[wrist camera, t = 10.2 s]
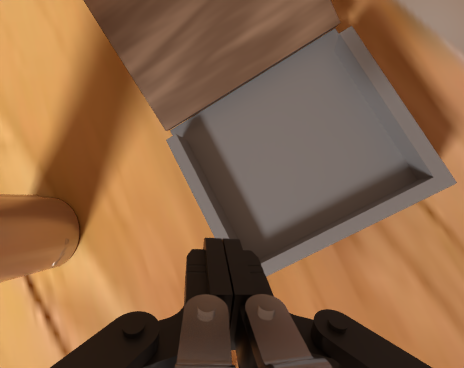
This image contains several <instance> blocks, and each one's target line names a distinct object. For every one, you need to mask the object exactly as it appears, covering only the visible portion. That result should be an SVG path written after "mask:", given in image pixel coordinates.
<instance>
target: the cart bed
mask: <svg viewBox="0 0 464 368" xmlns="http://www.w3.org/2000/svg"><path fill="white" fill-rule="evenodd" d="M170 131H171V133H172V135H173V136H172V137H170V138H168V139H167V140H166V141H167V143H168V145H169V147H170V149H171V151H172V153H173V155H174V157H175V159H176V161H177V163H178V165H179V167H180V169H181V171H182V173H183V175H184V177H185V179H186V181H187V183H188V185H189V187H190V189H191V191H192V193H193V195H194V197H195V199H196V201H197V203H198V205H199V207H200V209H201V211H202V213H203V215H204V217H205V219H206V221H207V223H208V225H209V227H210V229H211V231H212V233H213V235H214V237H215V238H231V239H240V242H241V245H242V248H243V250H251V251H252V252H253V253H254V254H255V255H256V256H257V257H258V258H259V260H260V263H261V265H262V266H261V267H262V268H263V270H264V274H265V276H268V275H270V274H272V273H274V272H276V271H278V270H280V269H282V268H285V267H287V266H289V265H291V264H293V263H295V262H297V261H299V260H301V259H303V258H305V257H307V256H309V255H311V254H313V253H315V252H317V251H319V250H321V249H323V248H325V247H327V246H329V245H331V244H334V243H336V242H338V241H340V240H342V239H344V238H346V237H348V236H350V235H352V234H354V233H356V232H358V231H360V230H362V229H364V228H366V227H368V226H370V225H372V224H374V223H376V222H378V221H380V220H383V219H385V218H387V217H389V216H391V215H393V214H395V213H397V212H399V211H401V210H403V209H405V208H407V207H409V206H411V205H413V204H415V203H417V202H419V201H421V200H423V199H425V198H427V197H430V196H432V195H434V194H436V193H438V192H440V191H442V190H444V189H446V188H448V187H450V186H452V185H454V184H456V183H457V182H456V181H455V179H454V178H453V176H452V175H451V173H450V172H449V170H448V169H447V167H446V166H445V164H444V163H443V161H442V160H441V158H440V157H439V155H438V154H437V152H436V151H435V149H434V148H433V146H432V145H431V143H430V142H429V140H428V139H427V137H426V136H425V134H424V133H423V131H422V130H421V128H420V127H419V125H418V124H417V122H416V121H415V119H414V118H413V116H412V115H411V113H410V112H409V110H408V109H407V107H406V106H405V104H404V103H403V101H402V100H401V99H400V97H399V96H398V94H397V93H396V91H395V90H394V88H393V87H392V85H391V84H390V82H389V81H388V79H387V78H386V76H385V75H384V73H383V72H382V70H381V69H380V67H379V66H378V64H377V63H376V61H375V60H374V58H373V57H372V55H371V54H370V52H369V51H368V49H367V48H366V46H365V45H364V43H363V42H362V40H361V39H360V37H359V36H358V34H357V33H356V31H355V30H354V28H353V27H352V26H350V27H349V28H347V29H346V30H344V31H342V32H341V33H338V32H337V30H336V29H333V30H331V31H330V32H328V33H327V34H325V35H323V36H322V37H320V38H319V39H317V40H315V41H314V42H312V43H311V44H309V45H307V46H306V47H304V48H302V49H301V50H299V51H298V52H296V53H294V54H293V55H291V56H290V57H288V58H286V59H285V60H283V61H282V62H280V63H278V64H277V65H275V66H273V67H272V68H270V69H269V70H267V71H265V72H264V73H262V74H261V75H259V76H257V77H256V78H254V79H252V80H251V81H249V82H248V83H246V84H244V85H243V86H241V87H240V88H238V89H236V90H235V91H233V92H232V93H230V94H228V95H227V96H225V97H223V98H222V99H220V100H219V101H217V102H215V103H214V104H212V105H211V106H209V107H207V108H206V109H204V110H202V111H201V112H199V113H198V114H196V115H194V116H193V117H191V118H190V119H188V120H186V121H185V122H183V123H182V124H180V125H178V126H177V127H175V128H173V129H172V130H170Z"/></svg>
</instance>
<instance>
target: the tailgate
mask: <svg viewBox="0 0 464 368" xmlns="http://www.w3.org/2000/svg"><path fill="white" fill-rule="evenodd" d="M84 2H85V4H86V5H87V7H88V8H89V10H90V11H91V13H92V15H93V16H94V18H95V19H96V21H97V23H98V24H99V26H100V27H101V29H102V30H103V32H104V34H105V35H106V37H107V38H108V40H109V42H110V43H111V45H112V46H113V48H114V49H115V51H116V53H117V54H118V56H119V57H120V59H121V61H122V62H123V64H124V65H125V67H126V68H127V70H128V72H129V73H130V75H131V76H132V78H133V80H134V81H135V83H136V84H137V86H138V87H139V89H140V91H141V92H142V94H143V95H144V97H145V99H146V100H147V102H148V103H149V105H150V106H151V108H152V110H153V111H154V113H155V114H156V116H157V118H158V119H159V121H160V122H161V124H162V125H163V127H164V129H165V130H166V131H168V130H170V129H172V128H174V127H175V126H177V125H178V124H180V123H182V122H183V121H185V120H187V119H188V118H190V117H191V116H193V115H195V114H196V113H198V112H199V111H201V110H203V109H204V108H206V107H207V106H209V105H211V104H212V103H214V102H216V101H217V100H219V99H220V98H222V97H224V96H225V95H227V94H228V93H230V92H232V91H233V90H235V89H236V88H238V87H240V86H241V85H243V84H245V83H246V82H248V81H249V80H251V79H253V78H254V77H256V76H257V75H259V74H261V73H262V72H264V71H265V70H267V69H269V68H270V67H272V66H274V65H275V64H277V63H278V62H280V61H282V60H283V59H285V58H286V57H288V56H290V55H291V54H293V53H294V52H296V51H298V50H299V49H301V48H303V47H304V46H306V45H307V44H309V43H311V42H312V41H314V40H315V39H317V38H319V37H320V36H322V35H323V34H325V33H327V32H328V31H330V30H332V29H333V28H335V27H336V26H337V25H338V24H339V23H341V22H340V20H339V18H338V16H337V14H336V11H335V9H334V7H333V5H332V2H331V0H84Z"/></svg>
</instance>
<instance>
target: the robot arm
mask: <svg viewBox="0 0 464 368" xmlns="http://www.w3.org/2000/svg"><path fill="white" fill-rule="evenodd" d="M78 240H79V223H78V220H77V217H76V215H75V213H74V211H73V210H72V208H71V207H70V206H69V205H68V204H67V203H65V202H64V201H62V200H60V199H57V198H41V197H40V196H38V195H8V194H0V282H4V281H7V280H11V279H14V278H18V277H22V276H25V275H29V274H33V273H36V272H40V271H43V270H47V269H50V268H54V267H57V266H60V265H62V264H63V263H65V262H66V261H67V260H68V259H70V257H71V256H72V255H73V253H74V252H75V249H76V247H77V244H78ZM261 266H262V265H261V263H260V260H259V258H258V257H257V256H256V255H255V254H254V253H253V252H252V251H251V250H243V248H242V245H241V242H240V239H231V238H205V239H204V247H203V249H192V250H191V251H190V253H189V254H188V255H187V262H186V276H185V297H184V306H183V308H182V309H181V310H180V311H179V312H178V313H177V314H175V315H174V316H172V317H170V318H167V319H163V320H160V321H158V320H157V319H156V318H155V317H154V316H153V315H151V314H149V313H146V312H141V311H136V312H130V313H127V314H124V315H122V316H120V317H118V318H117V319H115V320H114V321H113V322H111V323H110V324H109V325H107V326H106V327H105V328H103V329H102V330H101V331H99V332H98V333H96V334H95V335H94V336H92V337H91V338H90V339H88V340H87V341H86V342H84V343H83V344H82V345H80V346H79V347H77V348H76V349H75V350H73V351H72V352H71V353H69V354H68V355H67V356H65V357H64V358H62V359H61V360H60V361H58V362H57V363H56V364H54V365H53V366H52V367H50V368H432V367H430V366H429V365H427V364H425V363H424V362H422V361H420V360H419V359H417V358H415V357H414V356H412V355H410V354H409V353H407V352H406V351H404V350H402V349H401V348H399V347H397V346H396V345H394V344H392V343H391V342H389V341H387V340H386V339H384V338H382V337H381V336H379V335H378V334H376V333H374V332H373V331H371V330H369V329H368V328H366V327H364V326H363V325H361V324H359V323H358V322H356V321H355V320H353V319H351V318H350V317H348V316H346V315H345V314H343V313H340V312H338V311H335V310H328V309H326V310H321V311H319V312H317V313H316V314H315V317H314V320H312V319H308V318H304V317H300V316H296V315H293V314H291V313H289V312H288V310H287V308H286V306H285V305H284V304H283V302H281V301H280V300H279V299H277V298H275V297H274V296H273V293H272V291H271V288H270V286H269V283H268V281H267V278H266V276H265V274H264V270H263V268H262V267H261ZM231 350H236V354H237V362H236V367H235V365H232V358H231Z"/></svg>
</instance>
